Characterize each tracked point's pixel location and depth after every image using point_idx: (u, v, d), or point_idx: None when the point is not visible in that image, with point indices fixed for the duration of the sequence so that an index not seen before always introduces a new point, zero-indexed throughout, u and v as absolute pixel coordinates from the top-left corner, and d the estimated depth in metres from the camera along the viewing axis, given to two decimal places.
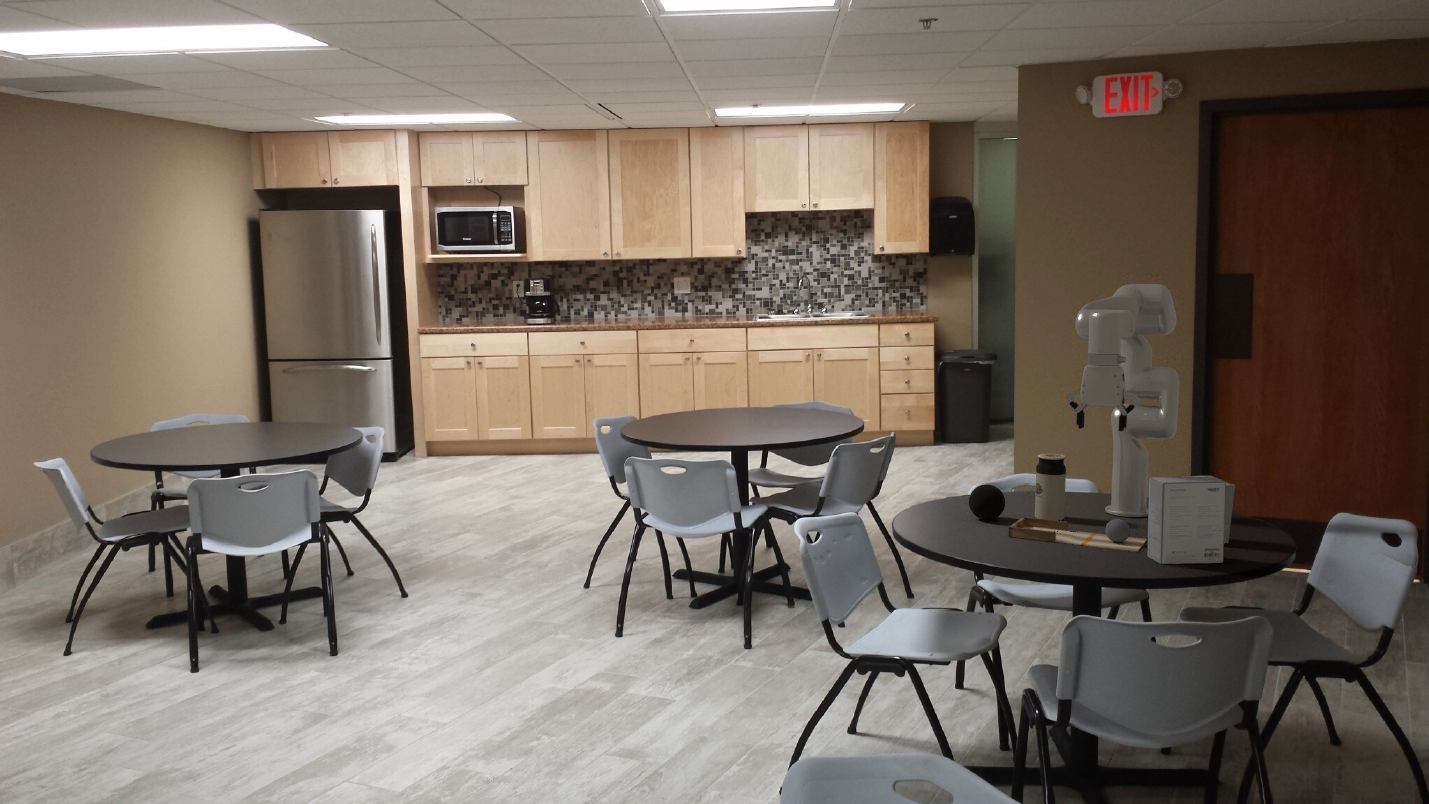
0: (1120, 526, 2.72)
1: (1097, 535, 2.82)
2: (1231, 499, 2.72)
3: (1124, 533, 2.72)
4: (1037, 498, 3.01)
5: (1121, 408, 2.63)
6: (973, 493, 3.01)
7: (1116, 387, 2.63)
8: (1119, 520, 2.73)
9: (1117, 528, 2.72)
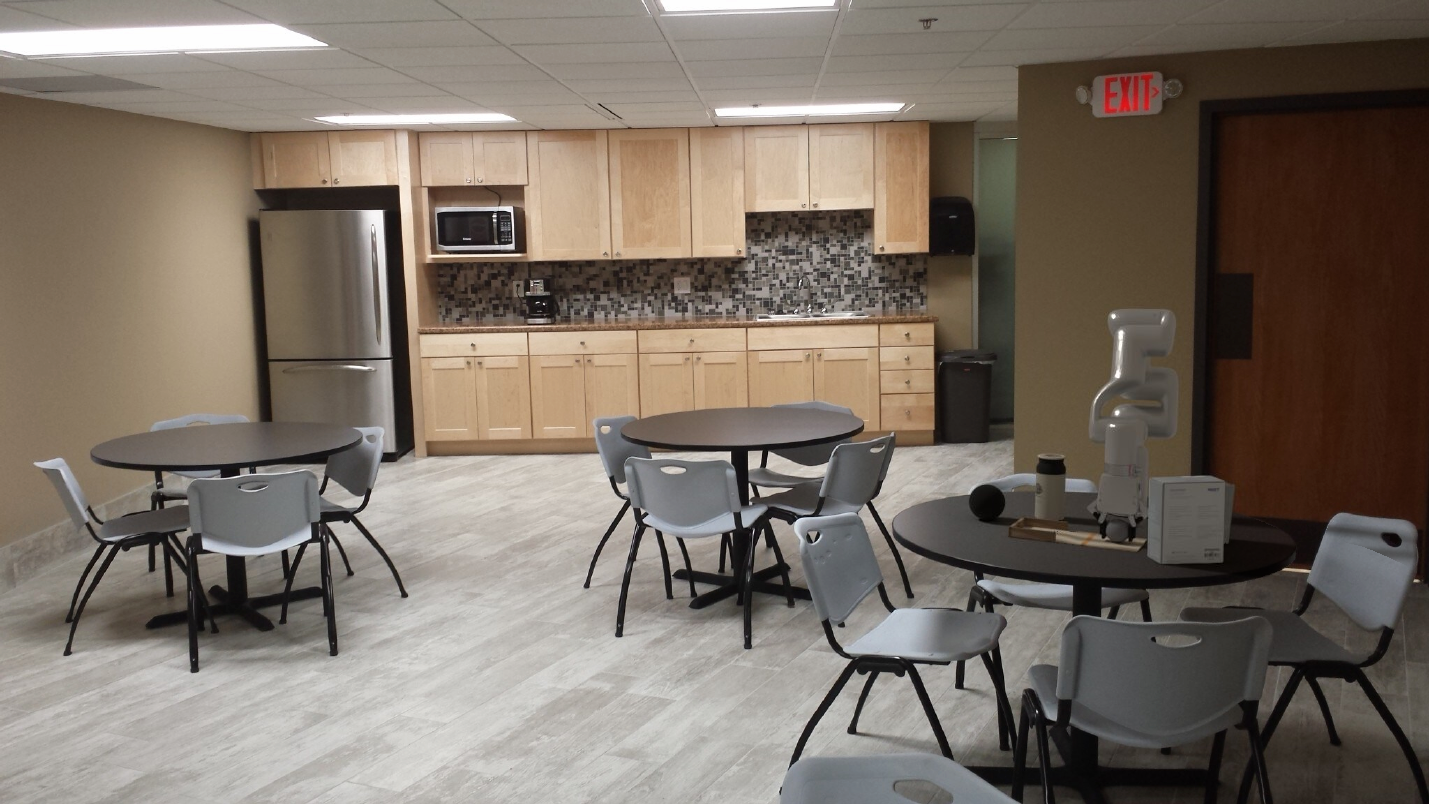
0: (1120, 526, 2.72)
1: (1097, 535, 2.82)
2: (1231, 499, 2.72)
3: (1124, 533, 2.72)
4: (1037, 498, 3.01)
5: (1132, 519, 2.71)
6: (973, 493, 3.01)
7: (1132, 497, 2.70)
8: (1119, 520, 2.73)
9: (1117, 528, 2.72)
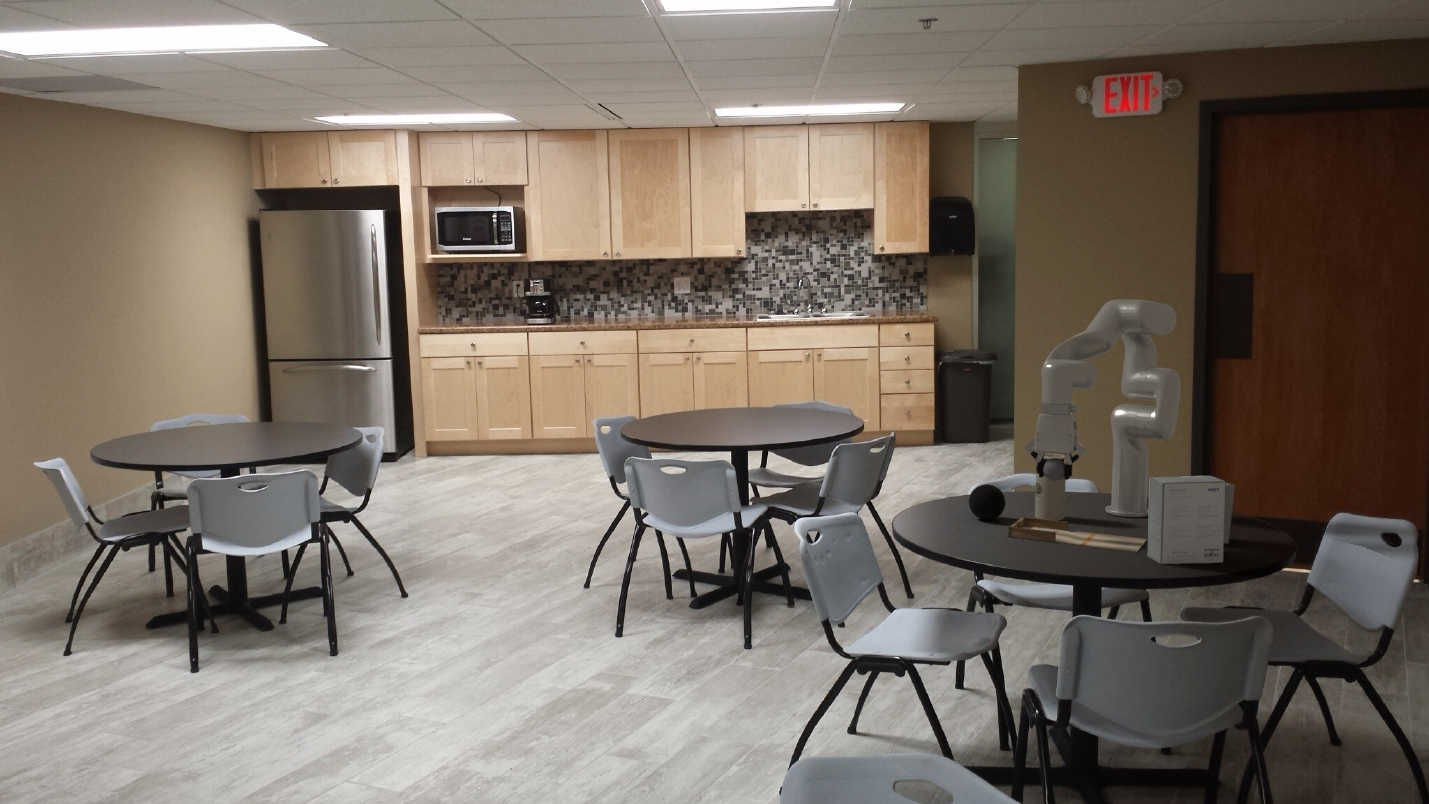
0: (1057, 465, 2.78)
1: (1097, 535, 2.82)
2: (1231, 499, 2.72)
3: (1061, 471, 2.78)
4: (1037, 498, 3.01)
5: (1068, 457, 2.78)
6: (973, 493, 3.01)
7: (1068, 435, 2.76)
8: (1056, 459, 2.80)
9: (1054, 466, 2.78)
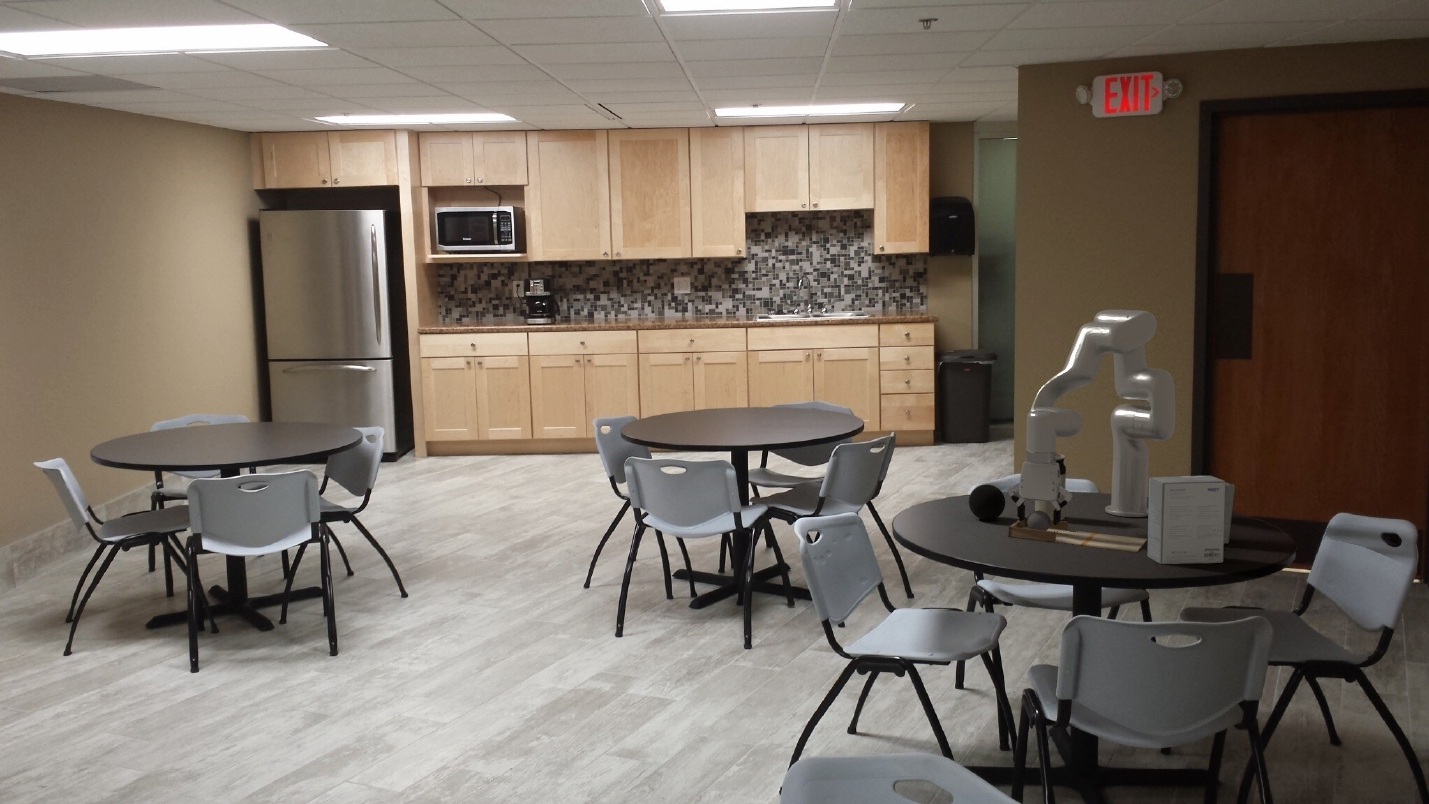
0: (1040, 518, 2.82)
1: (1097, 535, 2.82)
2: (1231, 499, 2.72)
3: (1044, 524, 2.82)
4: None
5: (1055, 503, 2.81)
6: (973, 493, 3.01)
7: (1052, 483, 2.80)
8: (1040, 512, 2.84)
9: (1037, 519, 2.82)
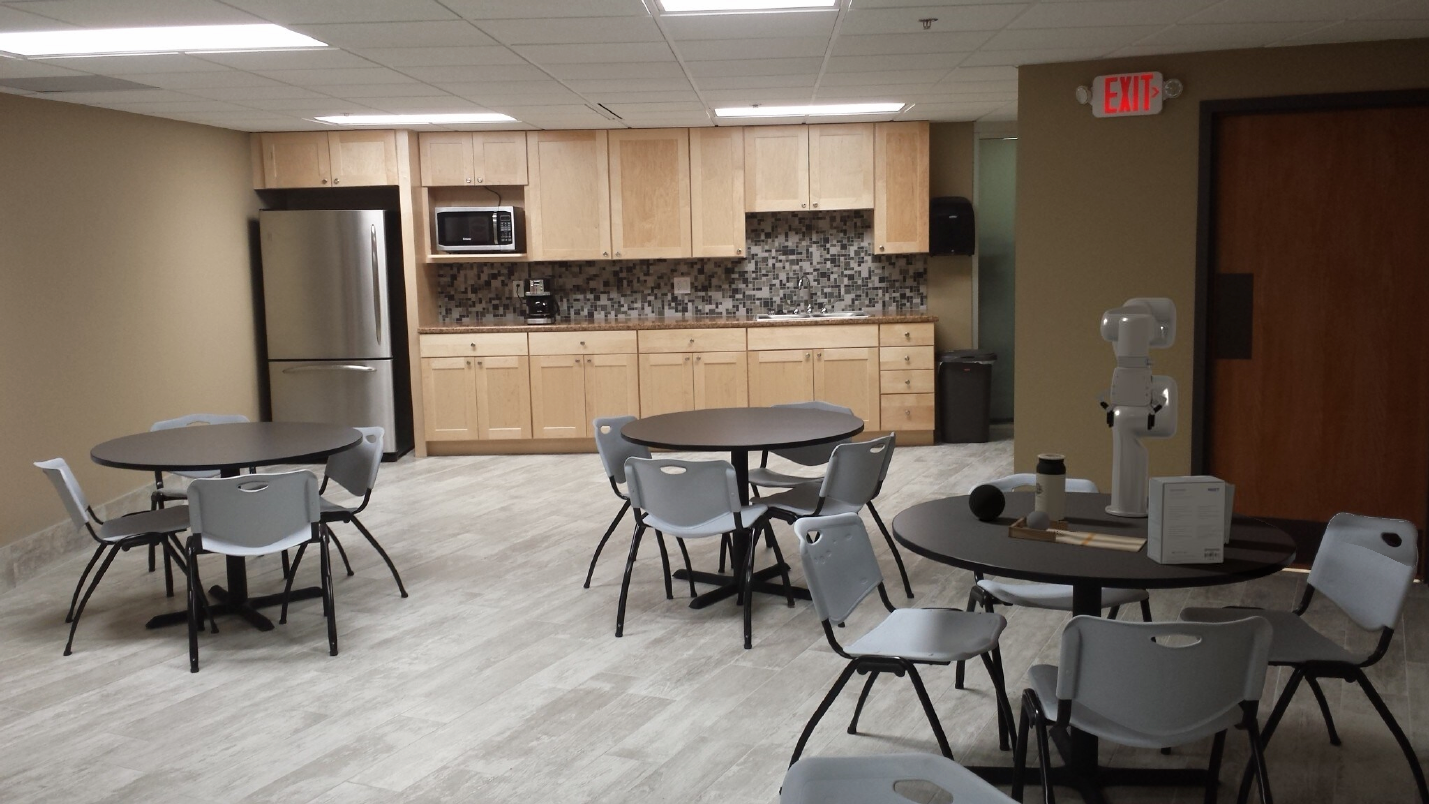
0: (1040, 518, 2.82)
1: (1097, 535, 2.82)
2: (1231, 499, 2.72)
3: (1044, 524, 2.82)
4: (1037, 498, 3.01)
5: (1150, 408, 2.77)
6: (973, 493, 3.01)
7: (1145, 388, 2.77)
8: (1039, 512, 2.84)
9: (1037, 519, 2.82)
